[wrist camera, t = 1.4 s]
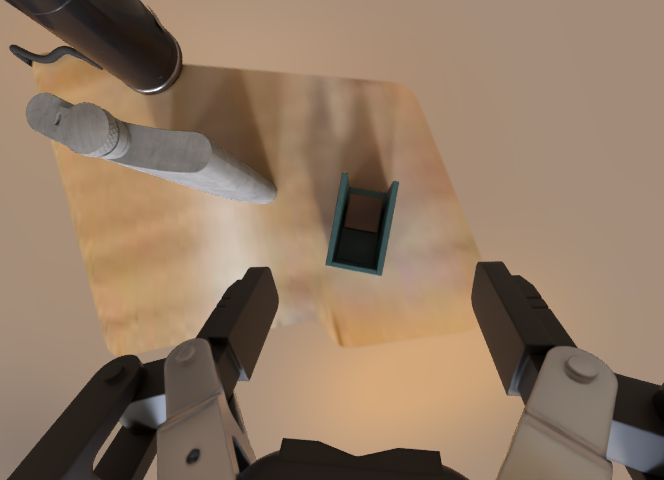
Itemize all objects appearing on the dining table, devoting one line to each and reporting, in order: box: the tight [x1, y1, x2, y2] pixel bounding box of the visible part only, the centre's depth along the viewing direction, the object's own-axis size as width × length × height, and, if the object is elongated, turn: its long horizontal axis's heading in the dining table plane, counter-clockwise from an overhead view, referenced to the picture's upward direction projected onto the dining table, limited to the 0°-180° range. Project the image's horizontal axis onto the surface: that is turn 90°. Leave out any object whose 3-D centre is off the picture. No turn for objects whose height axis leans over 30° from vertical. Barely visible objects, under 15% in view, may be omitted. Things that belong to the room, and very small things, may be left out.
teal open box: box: [326, 173, 399, 276], centre depth 34 cm, size 10×6×8 cm, turn 170°
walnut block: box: [344, 194, 383, 234], centre depth 35 cm, size 4×4×4 cm
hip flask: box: [26, 93, 277, 204], centre depth 29 cm, size 16×4×20 cm, turn 74°
